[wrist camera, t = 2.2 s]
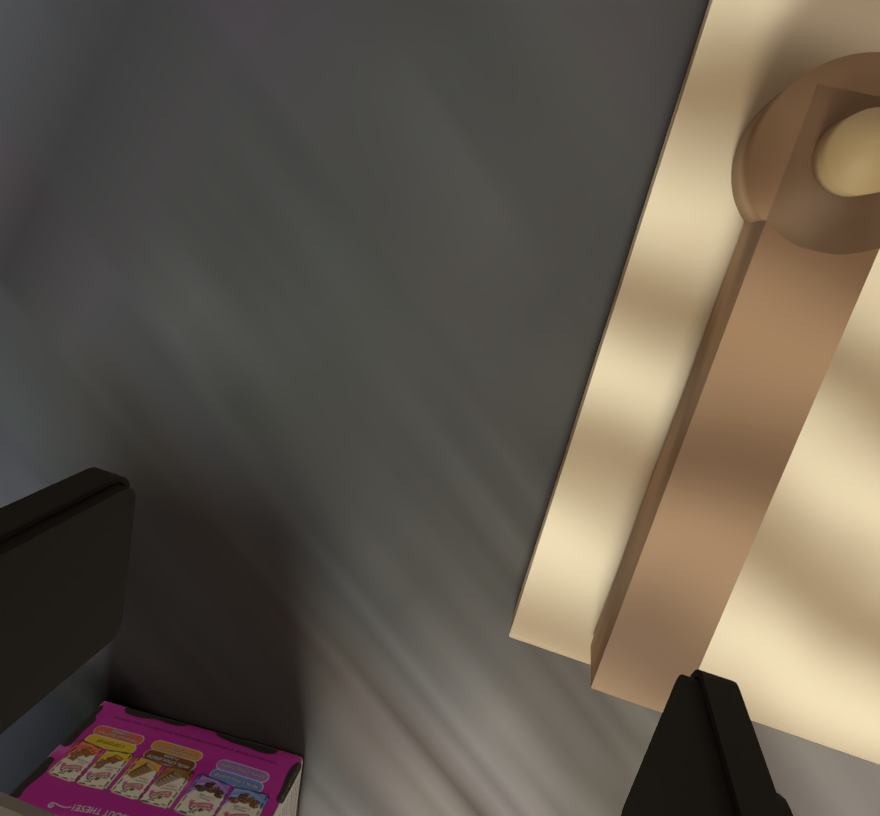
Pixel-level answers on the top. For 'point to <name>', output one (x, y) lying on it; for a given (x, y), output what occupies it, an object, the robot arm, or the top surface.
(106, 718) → the candy bar box
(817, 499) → the birch board
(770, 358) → the walnut link
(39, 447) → the top surface
